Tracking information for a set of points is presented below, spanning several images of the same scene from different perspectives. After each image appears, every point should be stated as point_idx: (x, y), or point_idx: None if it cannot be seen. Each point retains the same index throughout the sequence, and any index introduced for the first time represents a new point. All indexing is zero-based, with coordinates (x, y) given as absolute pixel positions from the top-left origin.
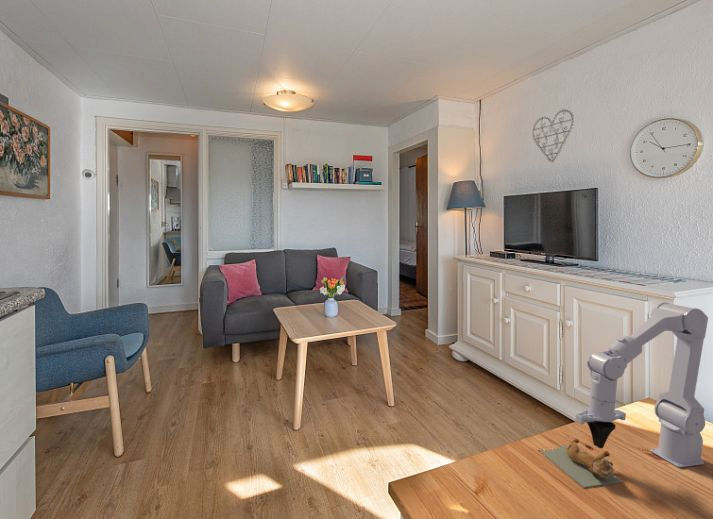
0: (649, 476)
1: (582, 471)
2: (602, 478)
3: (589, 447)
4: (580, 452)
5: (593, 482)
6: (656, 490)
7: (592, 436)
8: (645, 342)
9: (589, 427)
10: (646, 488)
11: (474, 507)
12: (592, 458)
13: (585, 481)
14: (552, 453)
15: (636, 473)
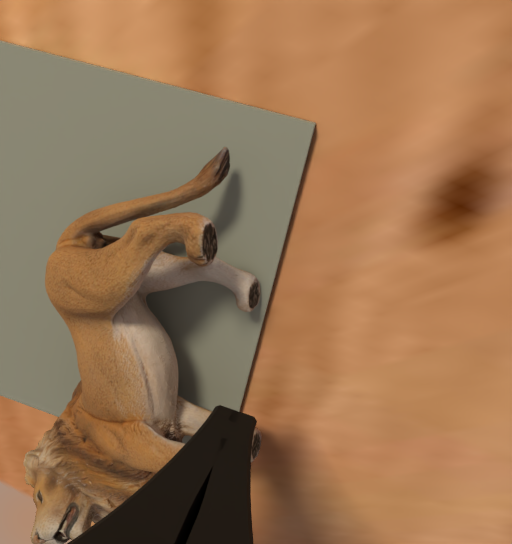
0: (430, 535)
1: None
2: None
3: (455, 211)
4: (107, 327)
5: (63, 405)
6: None
7: (177, 457)
8: None
9: (86, 533)
10: (289, 536)
11: None
12: (103, 417)
13: (31, 382)
14: (29, 134)
15: (391, 494)
